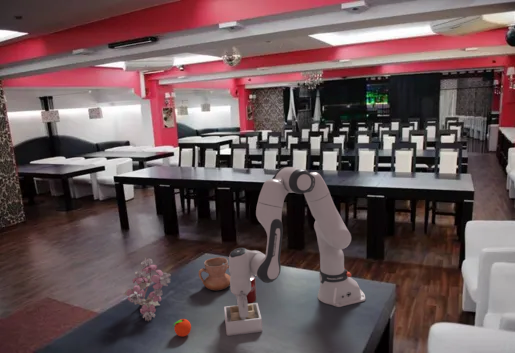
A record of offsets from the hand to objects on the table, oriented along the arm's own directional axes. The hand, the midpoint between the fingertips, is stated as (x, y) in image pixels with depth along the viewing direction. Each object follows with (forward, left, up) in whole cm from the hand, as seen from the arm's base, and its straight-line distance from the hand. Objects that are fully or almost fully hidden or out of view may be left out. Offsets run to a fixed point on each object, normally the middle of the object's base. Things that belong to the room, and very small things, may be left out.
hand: (242, 315), depth 168 cm
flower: (+42, -19, -5) cm, 46 cm away
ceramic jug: (+10, -38, -5) cm, 40 cm away
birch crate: (0, 0, -2) cm, 2 cm away
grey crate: (0, 0, -5) cm, 5 cm away
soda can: (-5, -20, -5) cm, 21 cm away
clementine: (+26, +2, -5) cm, 27 cm away
